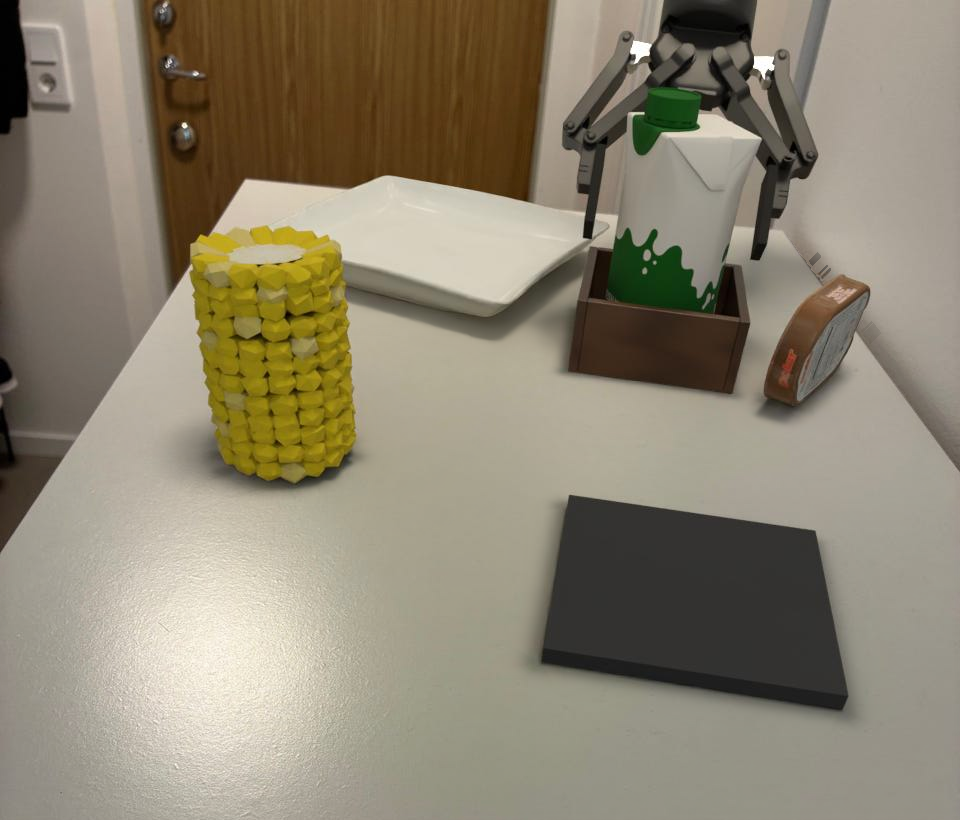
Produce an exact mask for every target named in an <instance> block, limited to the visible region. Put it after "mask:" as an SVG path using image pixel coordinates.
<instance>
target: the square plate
mask: <svg viewBox="0 0 960 820" xmlns="http://www.w3.org/2000/svg"><path fill="white" fill-rule="evenodd" d="M584 219H585V215H584V216H583V215H579V214H576V213H572V212H569V211H568V212H567V211H564V210H560V209H556V208H552V207H548V206H545V205H541V204H538V203H537V204H536V203H533V202H528V201H524V200H520V199H516V198H511V197H507V196H503V195H497V194H493V193H489V192H484V191H478V190H474V189H467V188H463V187H457V186H453V185H446V184H441V183H436V182H429V181H423V180H417V179H412V178H406V177H402V176H401V177H400V176H396V175H382V176H380V177H379V176H378V177H376V178H374V179H372V180H370V181H368V182H367V181H366V182H364V183H362V184H359V185H357V186H354V187H351V188H348V189H347V190H345V191H342V192H340V193H337V194H335V195H332V196H330V197H328V198H326V199H323V200H321V201H319V202H316V203H314V204H312V205H310V206H308V207H305V208H303V209H301V210H299V211H297V212H295V213H292V214H290V215H288V216H286V217H283V218H282V219H279V220H277V221H275V222H274V223H273V222H272V223H271V224H269V225H267V226H268V227H269V228H270V229H271V230H272V232H274V229H278V228H282V227H286V226H290V227H291V228H293V229H294V230H296V231H297V232H298V231H313V232H314V233H315V235H316V236H317V237H318V238H320V237H323V236H325V235H327V234H328V236H329V238H330V240H333V239H334V240H335V241H336V242H338V243H339V244H340V245H341V252H342V260H341V262H342V264H343V265H344V267H343V281H344V282H346V283H347V284H346V287H350V288H354V289H358V290H362V291H365V292H370V293H374V294H378V295H381V296H385V297H389V298H393V299H396V300H400V301H405V302H408V303H412V304H415V305H419V306H423V307H427V308H430V309H436V310H439V311H445V312H449V313H450V312H451V313H458V314H459V313H460V314H466V315H471V316H477V317H481V318H483V317H484V318H488V317H492V316H495V315H497V314H499V313H501V312H503V311H504V310H505V309H507V308H509V306H511V305H512V304H514V303H515V302H516V301H517V300H518V299H519V298H520V297H521V296H523V294H524V293H526V292H527V291H528V290H529V289H530V288H531V287H532V286H534V285H535V284H536V283H537V282H539V281H540V280H542V279H543V278H544V277H546V276H547V275H548V274H550V273H551V272H553V271H554V270H555V269H557V268H558V267H560V266H561V265H563V264H564V263H566V262H568V261H569V260H571V259H572V258H573V257H575V256H577V255H578V254H580V253H581V252H582V251H583V250H585V249H586V248H588V246H589V245H591V244H592V243H593V242H594V241H595V240H596V239H597V238H598V237H599V236H601V235H603V234H604V233H605V232H607V231H608V230H609V229H610V227H611V225H610V223H609V222H607V221H604V220H601V219H600V220H599V219H596V218H595V223H594V229H593V235H592V239H585V238H583V229H584Z"/></svg>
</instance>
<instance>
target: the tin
mask: <svg viewBox="0 0 960 820" xmlns="http://www.w3.org/2000/svg"><path fill="white" fill-rule="evenodd" d="M870 299H871V287H870V286H869V285H867V284H866V283H864V282H861V281H859V280H856V279H853V278H850V277H848V276H846V275H845V274H843V273H841V274H838V275H837V276H836V277H834V278H833V279H831V280H829V281H828V282H827V283H826V284H824V285H823V286H821V287H820V288H818V289H817V290H815V291H814V292H813V293H811V294H810V295H808V296H807V297H806V298H804V299H803V301H802V302H801V303H800V304H799V306H798V307H797V308H796V310H795V311H794V313H793V315H792V316H791V318H790V319H789V321H788V322H787V324H786V326H785V327H784V330H783V332H782V334H781V336H780V338H779V340H778V342H777V345H776V347H775V349H774V350H773V354H772V356H771V359H770V363H769V365H768V367H767V372H766V375H765V380H764V384H763V395H764V397H766V398H767V399H773V400H775V401H778V402H780V403H783V404H784V405H787V406H791V407H797V406H799V405H801V404H802V403H804V401H806V400H807V399H808V398H809V397H810V396H811V395H812V394H814V393H815V392H816V391H818V389H819V388H820V387H821V386H823V385H824V384H825V383H826V382H827V381H828V380H830V378H831V377H832V376H834V374H835V372H836V371H837V370H838V369H839V367H840V365H841V364H842V363H843V361H844V359H845V358H846V355H847V354H848V352H849V350H850V348H851V346H852V343H853V342H854V336H855V334H856V331H857V328H858V326H859V323H860V321H861V320H862V319H861V318H862V316H863V314H864V311H865V310H866V308H867V306H868V305H869V303H870V302H869V301H870Z"/></svg>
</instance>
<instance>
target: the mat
mask: <svg viewBox="0 0 960 820" xmlns="http://www.w3.org/2000/svg"><path fill="white" fill-rule="evenodd" d="M566 504H567V505H566V510H565V517H564V522H563V528H562V534H561V535H562V536H561V539H560V547H559V551H558V557H557V564H556V570H555V576H554V582H553V588H552V594H551V600H550V606H549V612H548V619H547V623H546V630H545V636H544V642H543V648H542V654H541V662H542V663H547V664H554V665H560V666H566V667H571V668H572V667H573V668H578V669H585V670H590V671H598V672H604V673H610V674H615V675H623V676H629V677H634V678H635V677H636V678H640V679H641V678H642V679H647V680H654V681H661V682H667V683H674V684H679V685H686V686H693V687H698V688H705V689H712V690H717V691H723V692H731V693H735V694H736V693H737V694H744V695H749V696H755V697H761V698H768V699H774V700H780V701H787V702H793V703H798V704H799V703H800V704H805V705H812V706H818V707H819V706H820V707H824V708H829V709H830V708H831V709H837V710H844V708H845V706H846V703H847V701H848V699H849V692H848V686H847V681H846V675H845V671H844V667H843V662H842V656H841V651H840V646H839V642H838V637H837V631H836V626H835V622H834V617H833V612H832V607H831V601H830V597H829V592H828V587H827V582H826V581H827V580H826V576H825V572H824V571H825V570H824V566H823V562H822V556H821V551H820V546H819V541H818V536H817V531H816V530H814V529H807V528H800V527H794V526H786V525H779V524H774V523H773V524H772V523H767V522H760V521H754V520H746V519H739V518H732V517H725V516H719V515H711V514H706V513H700V512H699V513H698V512H692V511H684V510H677V509H670V508H664V507H657V506H650V505H644V504H636V503H629V502H622V501H615V500H610V499H601V498H595V497H588V496H582V495H575V494H568V500H567V503H566Z"/></svg>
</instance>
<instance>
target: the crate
mask: <svg viewBox="0 0 960 820" xmlns="http://www.w3.org/2000/svg"><path fill="white" fill-rule="evenodd" d="M612 253H613V248H610V247H609V248H608V247H601V246H592V245H590V246H589V247H588V251H587V256H586V261H585V265H584V268H583V274H582V278H581V284H580V288H579V293H578V297H577V300H576V301H577V302H576V308H575V309H576V310H575V315H574V316H575V317H574V325H573V331H572V336H571V337H572V338H571V345H570V352H569V358H568V367H567V368H568V369H567V371H568V372H574V373H579V374H588V375H594V376H602V377H608V378H609V377H610V378H616V379H617V378H618V379H624V380H630V381H631V380H632V381H638V382H645V383H653V384H660V385H668V386H675V387H681V388H682V387H683V388H689V389H698V390H703V391H704V390H705V391H713V392H719V393H726V394H733V393H734V389H735V385H736V382H737V378H738V374H739V370H740V366H741V361H742V358H743V354H744V350H745V346H746V342H747V338H748V335H749V331H750V326H751V318H750V311H749V304H748V298H747V297H748V296H747V291H746V285H745V278H744V271H743V265H742V264H736V263H725V267H724V271H723V276H722V280H721V284H720V289H719V293H718V297H717V302H716V307H715V312H714V314H707V313H700V312H692V311H684V310H677V309H669V308H661V307H654V306H646V305H639V304H631V303H623V302H616V301H608V300H605V296H606V290H607V284H608V278H609V272H610V265H611V259H612Z"/></svg>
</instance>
